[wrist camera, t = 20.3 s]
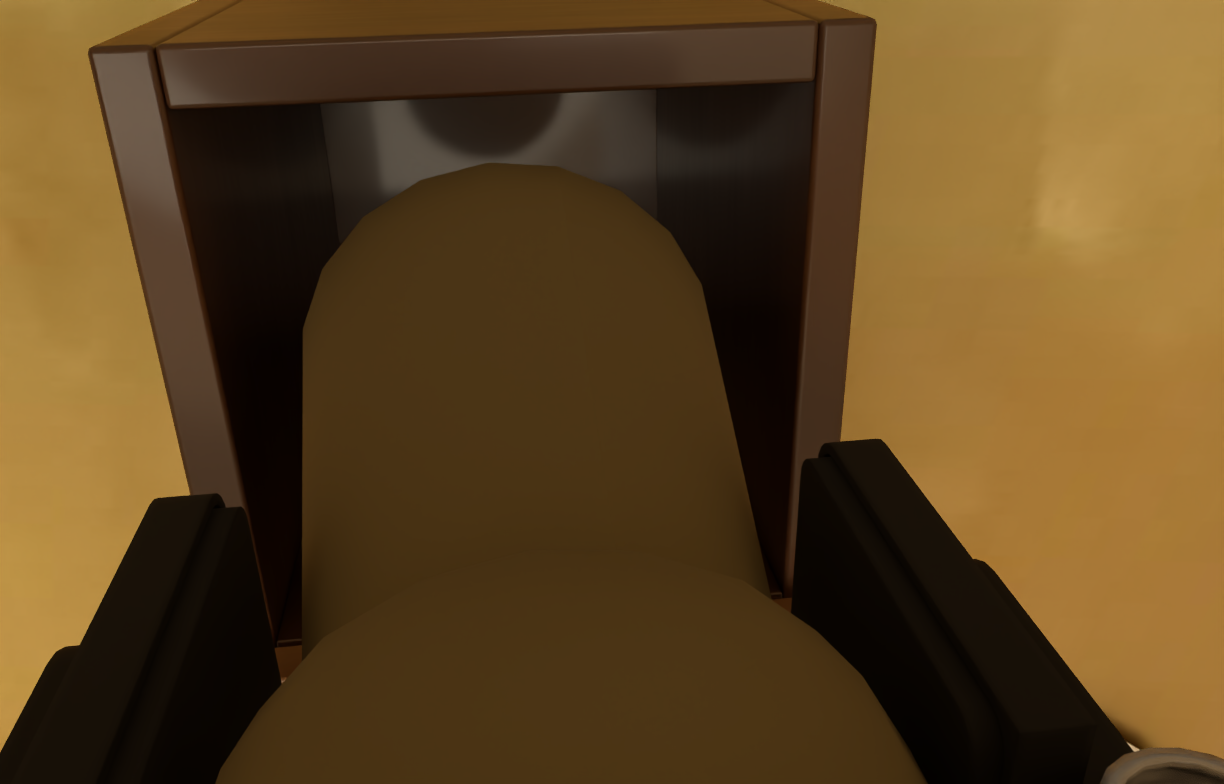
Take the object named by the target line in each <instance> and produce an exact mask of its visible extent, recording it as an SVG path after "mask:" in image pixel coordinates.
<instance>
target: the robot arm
mask: <svg viewBox="0 0 1224 784" xmlns="http://www.w3.org/2000/svg"><path fill="white" fill-rule="evenodd" d="M791 614H793V615H794V616H796V617H797V618H799V619H800V620H802V621H803V622H804V623H806V624H807V625H809V626H810V627H812V628H813V629H815V630H816V631H817V632H818V633H819V634H820V635H821V636H822V637H823V638H824V639H825V640H826V641H827V642H828V643H829V644H830V645H831V646H833V647H834V648H835V649H836V650H837V651H838V652H839V653H840V654H841V655H842V656H843V657H844V658H845V659H846V660H847V661H848V662H849V663H850V664H851V665H852V666H853V667H854V668H855V669H856V670H857V671H858V672H859V673H860V674H861V675H862V676H863V678H864V679H865V681H866V682H867V684H868V686H869V687H870V689H871V690H872V692H873V693H874V695H875V696H876V698H877V699H878V701H879V703H880V704H881V706H882V707H883V709H884V710H885V712H886V713H887V715H888V716H889V718H890V720H891V721H892V723H893V724H894V726H895V727H896V729H897V730H898V732H899V733H900V735H901V737H902V738H903V740H904V741H905V743H906V744H907V746H908V747H909V749H910V751H911V753H912V755H913V757H914V758H915V760H916V762H917V764H918V766H919V768H920V769H921V771H922V773H923V775H924V777H925V779H926V780H927V782H928V784H1224V759H1221V758H1219V757H1217V756H1214V755H1211V754H1206V753H1201V752H1197V751H1192V750H1187V749H1182V748H1146V749H1142V750H1139V751H1135V752H1134V751H1133V750H1132V748H1131V747H1130V746H1129V745H1128V743H1127V742H1126V741H1125V739H1124V738H1123V737H1122V736H1121V734H1120V733H1119V732H1118V730H1117V729H1116V728H1115V726H1114V725H1113V724H1112V723H1111V721H1110V720H1109V719H1108V717H1107V716H1106V715H1105V714H1104V712H1103V711H1102V710H1101V708H1100V707H1099V706H1098V704H1097V703H1096V702H1095V701H1094V699H1093V698H1092V697H1091V695H1090V694H1089V693H1088V692H1087V690H1086V689H1085V688H1084V686H1083V685H1082V684H1081V683H1080V681H1079V680H1078V679H1077V677H1076V676H1075V675H1074V673H1073V672H1072V671H1071V670H1070V668H1069V667H1068V666H1067V664H1066V663H1065V662H1064V661H1063V659H1062V658H1061V657H1060V655H1059V654H1058V653H1057V651H1056V650H1055V649H1054V648H1053V646H1052V645H1051V644H1050V642H1049V641H1048V640H1047V639H1046V637H1045V636H1044V635H1043V633H1042V632H1041V631H1040V629H1039V628H1038V627H1037V626H1036V624H1035V623H1034V622H1033V620H1032V619H1031V618H1030V617H1029V615H1028V614H1027V613H1026V611H1025V610H1024V609H1023V608H1022V606H1021V605H1020V604H1019V602H1018V601H1017V600H1016V598H1015V597H1014V596H1013V595H1012V593H1011V592H1010V591H1009V589H1008V588H1007V587H1006V586H1005V584H1004V583H1003V582H1002V580H1001V579H1000V578H999V576H998V575H997V574H996V573H995V571H994V570H993V569H992V568H991V567H989V566H988V565H987V564H986V563H985V562H983V561H980V560H977V559H972V557H971V556H970V555H969V554H968V552H967V551H966V550H965V548H964V547H963V546H962V544H961V543H960V542H959V540H958V539H957V538H956V536H955V535H954V534H953V532H952V531H951V530H950V528H949V527H948V526H947V524H946V523H945V522H944V520H943V519H942V518H941V516H940V515H939V514H938V512H937V511H936V510H935V508H934V507H933V506H932V505H931V503H930V502H929V501H928V499H927V498H926V497H925V495H924V494H923V493H922V491H921V490H920V489H919V487H918V486H917V485H916V483H915V482H914V481H913V479H912V478H911V477H910V475H909V474H908V473H907V471H906V470H905V469H904V467H903V466H902V465H901V463H900V462H899V461H898V459H897V458H896V457H895V456H894V454H893V453H892V452H891V450H890V449H889V448H888V446H887V445H886V444H885V443H884V442H883V441H882V440H881V439H867V440H855V441H843V442H831V443H824V444H823V445H822V446H821V448H820V451H819V454H818V458H810V459H805V460H804V461H803V464H802V468H801V475H800V490H799V504H798V518H797V532H796V546H795V560H794V575H793V589H792V603H791ZM281 685H282V682H281V677H280V672H279V667H278V663H277V658H276V653H275V648H274V643H273V638H272V634H271V629H270V624H269V619H268V614H267V609H266V605H265V600H264V595H263V590H262V585H261V581H260V576H259V571H258V566H257V561H256V556H255V552H254V547H253V542H252V537H251V532H250V527H249V523H248V519H247V515H246V512H245V510H244V509H243V508H242V507H241V506H240V507H228V508H226V506H225V503H224V501H223V499H222V497H221V496H220V495H219V494H218V493H213V494H201V495H189V496H177V497H165V498H157V499H154V500H153V501H152V503H151V504H150V505H149V507H148V509H147V511H146V513H145V515H144V517H143V519H142V521H141V523H140V525H139V527H138V529H137V531H136V533H135V536H134V538H133V540H132V542H131V544H130V546H129V548H128V550H127V552H126V554H125V556H124V558H123V560H122V562H121V564H120V566H119V568H118V570H117V572H116V574H115V576H114V578H113V580H112V582H111V584H110V586H109V588H108V590H107V592H106V594H105V596H104V598H103V600H102V602H101V604H100V606H99V608H98V610H97V612H96V614H95V616H94V618H93V620H92V622H91V624H90V626H89V628H88V630H87V632H86V634H85V636H84V638H83V640H82V642H81V644H80V645H78V646H68V647H64V648H62V649H60V650H59V651H57V652H56V653H55V654H54V655H53V657H52V658H51V659H50V661H49V662H48V664H47V665H46V667H45V669H44V671H43V673H42V675H41V677H40V678H39V680H38V682H37V684H36V686H35V688H34V690H33V692H32V694H31V695H30V697H29V699H28V701H27V703H26V705H25V707H24V709H23V711H22V713H21V714H20V716H19V718H18V720H17V722H16V724H15V726H14V728H13V730H12V731H11V733H10V735H9V737H8V739H7V741H6V743H5V745H4V747H3V748H2V750H1V752H0V784H215V783H216V780H217V777H218V774H219V771H220V769H221V767H222V766H223V764H224V763H225V761H226V760H227V758H228V757H229V755H230V753H231V752H232V750H233V749H234V747H235V746H236V744H237V743H238V741H239V740H240V738H241V737H242V735H243V734H244V732H245V730H246V729H247V727H248V726H249V724H250V723H251V721H252V720H253V718H254V717H255V715H256V714H257V712H258V711H259V709H260V708H261V707H262V706H263V705H264V704H265V702H266V701H267V700H268V699H269V698H270V697H271V696H272V695H273V694H274V692H275V691H276V690H277V689H278V688H279V687H280V686H281Z"/></svg>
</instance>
